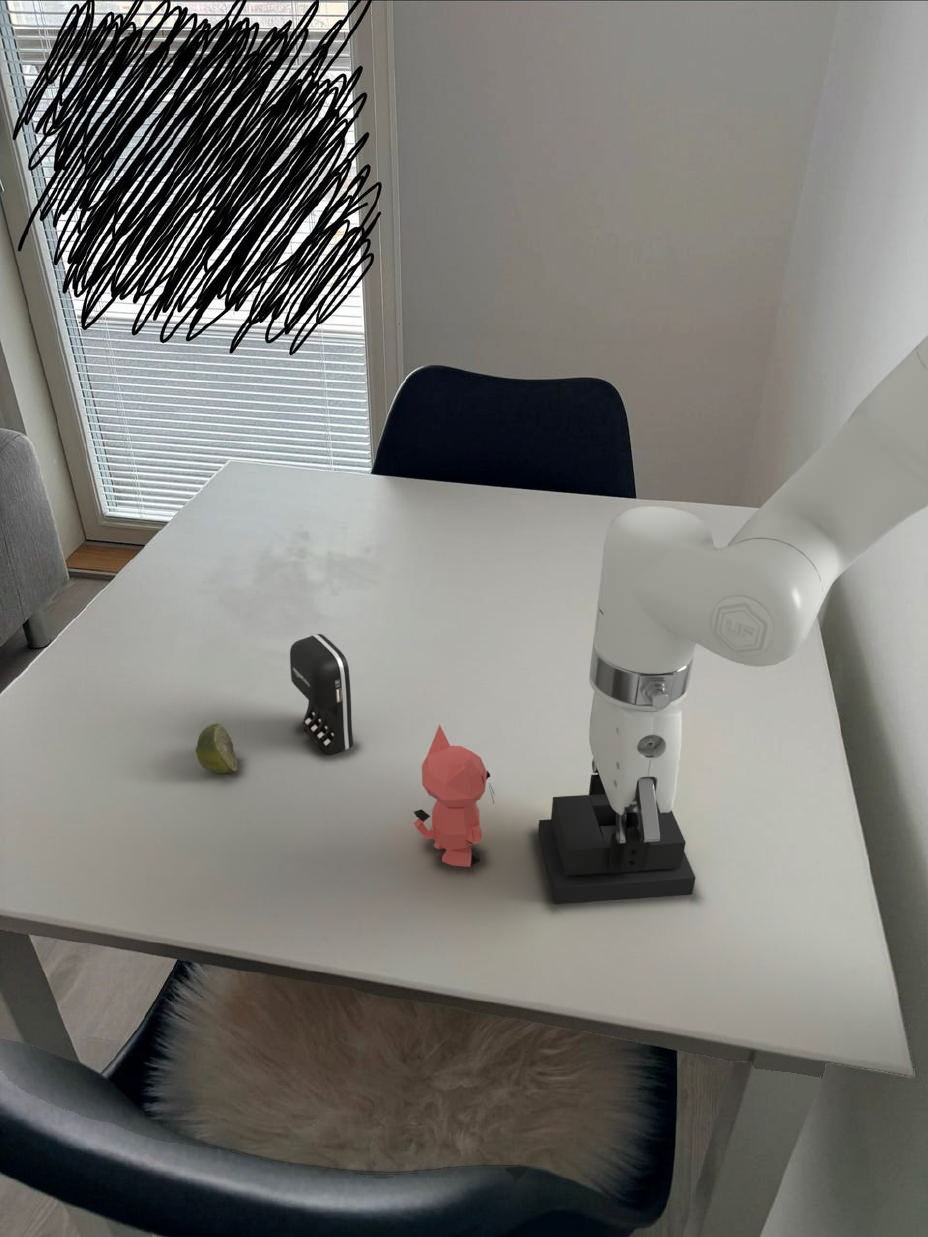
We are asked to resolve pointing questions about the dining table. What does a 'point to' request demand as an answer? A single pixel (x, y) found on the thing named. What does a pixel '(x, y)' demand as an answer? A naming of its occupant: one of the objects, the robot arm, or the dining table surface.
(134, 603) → the dining table surface
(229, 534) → the dining table surface
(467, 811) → the cat figurine
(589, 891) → the base pad
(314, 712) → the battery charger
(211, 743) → the lime
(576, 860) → the black socket block
